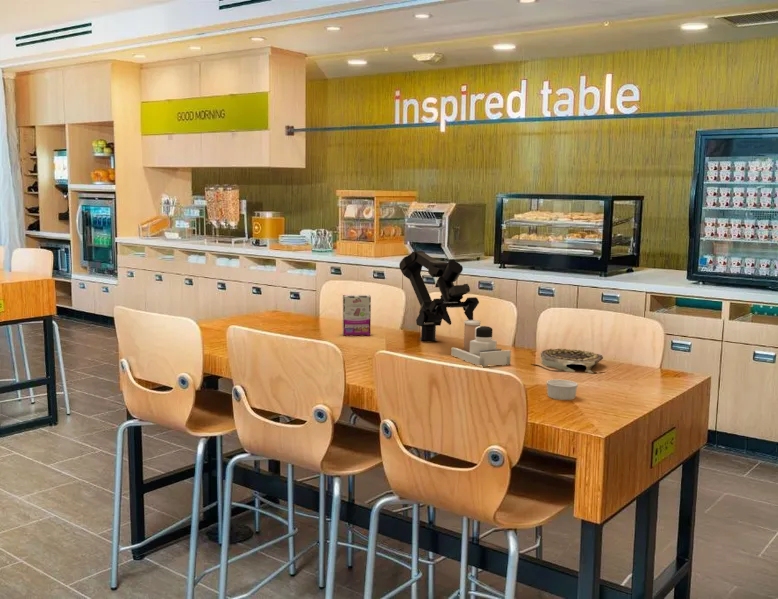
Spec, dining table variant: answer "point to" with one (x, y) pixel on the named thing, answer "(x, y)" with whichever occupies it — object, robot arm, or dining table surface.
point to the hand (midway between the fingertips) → (461, 323)
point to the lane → (484, 356)
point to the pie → (569, 359)
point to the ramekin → (561, 389)
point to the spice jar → (469, 332)
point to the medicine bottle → (482, 340)
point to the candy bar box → (356, 314)
